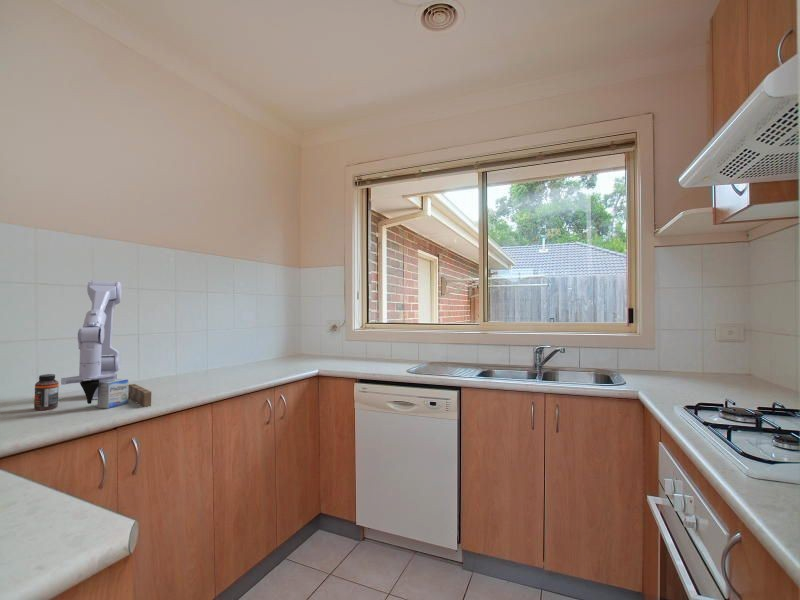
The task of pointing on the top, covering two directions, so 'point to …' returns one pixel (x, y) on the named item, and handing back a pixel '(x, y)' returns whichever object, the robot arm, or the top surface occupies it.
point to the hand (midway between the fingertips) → (89, 403)
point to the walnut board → (139, 395)
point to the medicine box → (112, 393)
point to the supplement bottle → (46, 393)
